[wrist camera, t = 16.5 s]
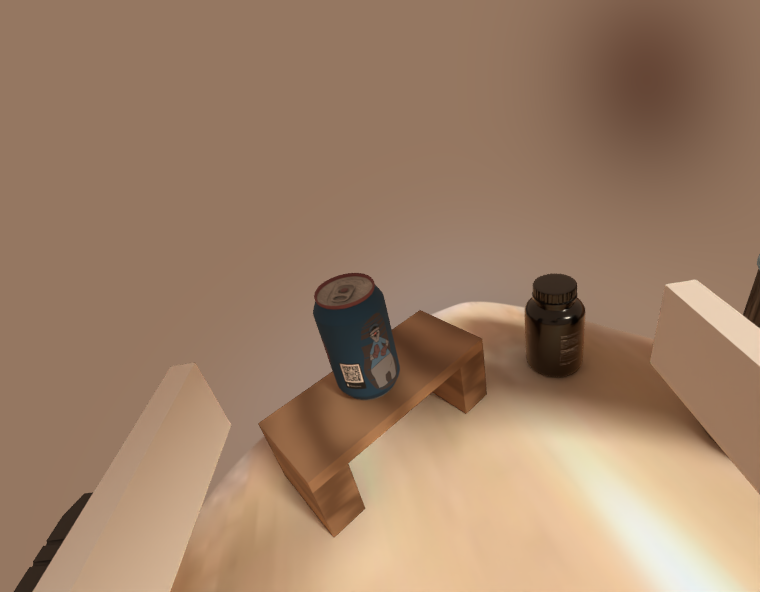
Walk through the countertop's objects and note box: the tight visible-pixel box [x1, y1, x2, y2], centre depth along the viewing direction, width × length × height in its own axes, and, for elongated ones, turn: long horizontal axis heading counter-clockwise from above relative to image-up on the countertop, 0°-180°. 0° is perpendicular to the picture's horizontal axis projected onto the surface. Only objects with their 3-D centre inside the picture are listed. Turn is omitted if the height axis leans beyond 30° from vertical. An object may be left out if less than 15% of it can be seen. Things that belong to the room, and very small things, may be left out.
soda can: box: [313, 273, 400, 401], centre depth 42 cm, size 7×7×12 cm
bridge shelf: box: [259, 310, 487, 537], centre depth 48 cm, size 24×10×9 cm, turn 131°
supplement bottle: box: [525, 274, 585, 377], centre depth 51 cm, size 7×7×12 cm
